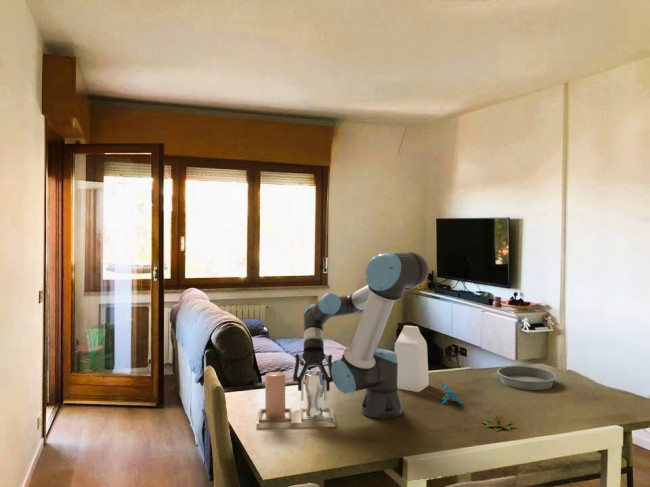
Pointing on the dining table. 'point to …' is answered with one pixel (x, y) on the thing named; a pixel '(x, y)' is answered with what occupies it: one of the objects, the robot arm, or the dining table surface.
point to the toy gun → (449, 395)
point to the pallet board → (297, 419)
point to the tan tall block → (275, 395)
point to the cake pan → (526, 377)
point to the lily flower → (504, 423)
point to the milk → (411, 360)
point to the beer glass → (314, 393)
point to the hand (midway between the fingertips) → (313, 398)
